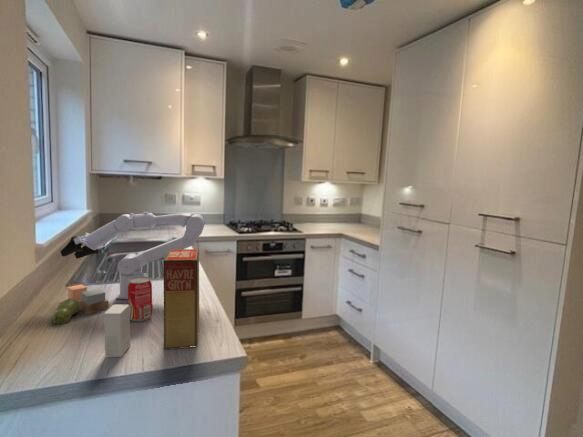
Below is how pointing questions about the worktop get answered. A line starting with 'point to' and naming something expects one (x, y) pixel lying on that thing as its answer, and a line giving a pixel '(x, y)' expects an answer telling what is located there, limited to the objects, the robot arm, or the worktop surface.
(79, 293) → the terracotta cube
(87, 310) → the walnut base
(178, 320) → the food packaging
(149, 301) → the soda can
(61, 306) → the pear
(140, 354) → the worktop surface
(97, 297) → the slate block
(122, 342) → the skincare box
